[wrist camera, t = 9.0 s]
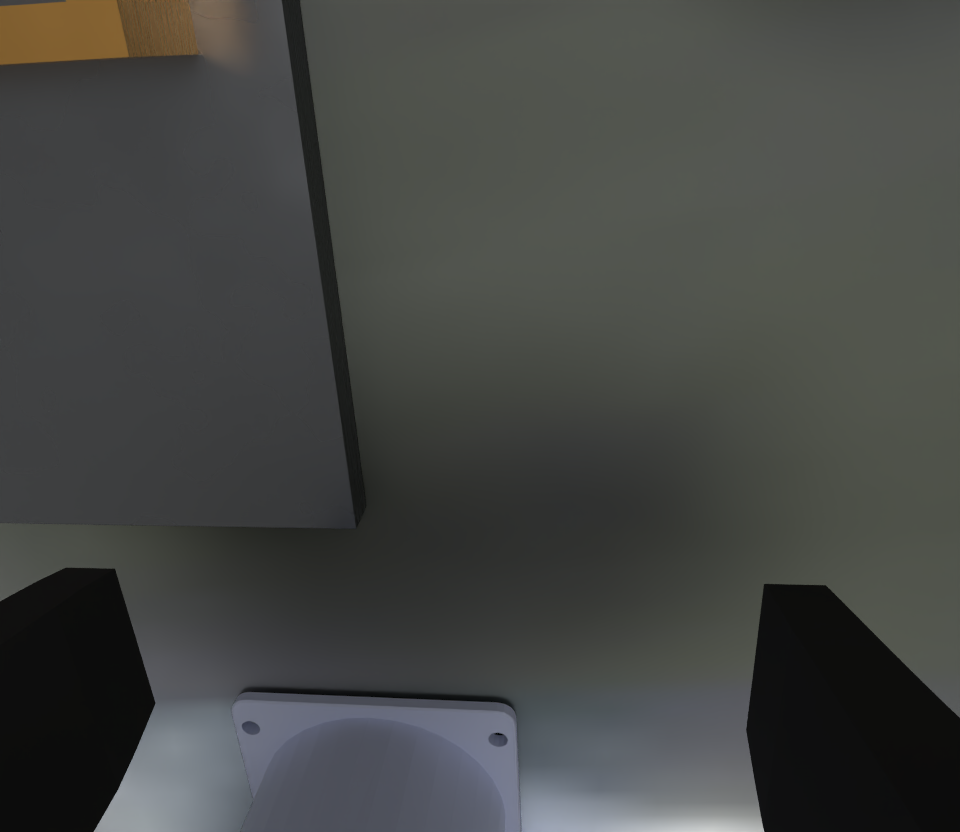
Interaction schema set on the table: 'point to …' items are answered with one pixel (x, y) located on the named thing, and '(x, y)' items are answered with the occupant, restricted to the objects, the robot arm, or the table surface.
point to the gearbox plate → (167, 271)
